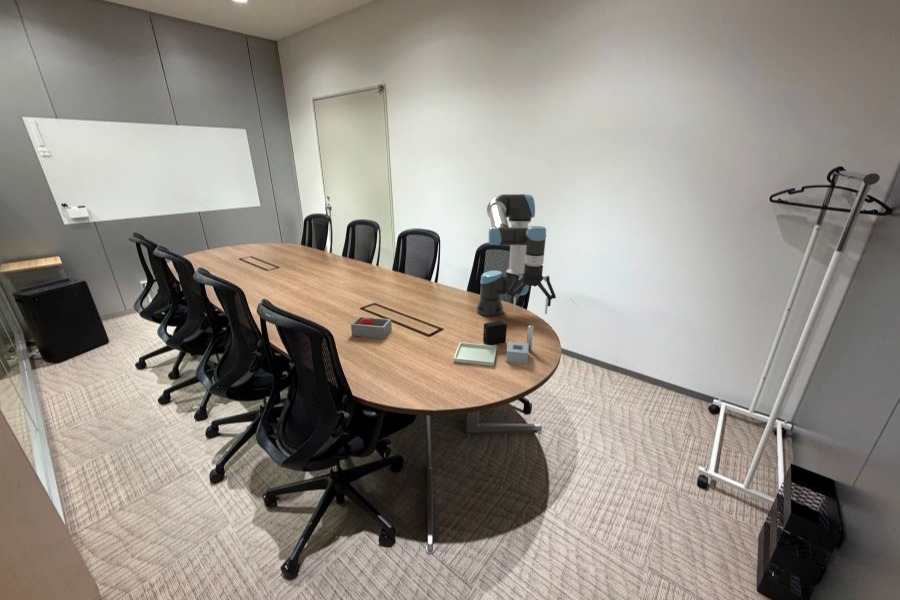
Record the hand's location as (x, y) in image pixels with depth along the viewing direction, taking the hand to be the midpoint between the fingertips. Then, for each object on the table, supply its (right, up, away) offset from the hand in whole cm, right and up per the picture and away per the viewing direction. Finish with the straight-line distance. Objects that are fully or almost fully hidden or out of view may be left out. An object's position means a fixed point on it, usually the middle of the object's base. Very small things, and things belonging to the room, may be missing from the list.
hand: (529, 311), depth 159 cm
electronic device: (-14, -15, +14) cm, 25 cm away
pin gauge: (+1, -18, +8) cm, 19 cm away
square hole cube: (-5, -20, +1) cm, 21 cm away
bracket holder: (-74, -11, +24) cm, 78 cm away
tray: (-23, -20, +3) cm, 31 cm away
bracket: (-74, -12, +24) cm, 79 cm away
